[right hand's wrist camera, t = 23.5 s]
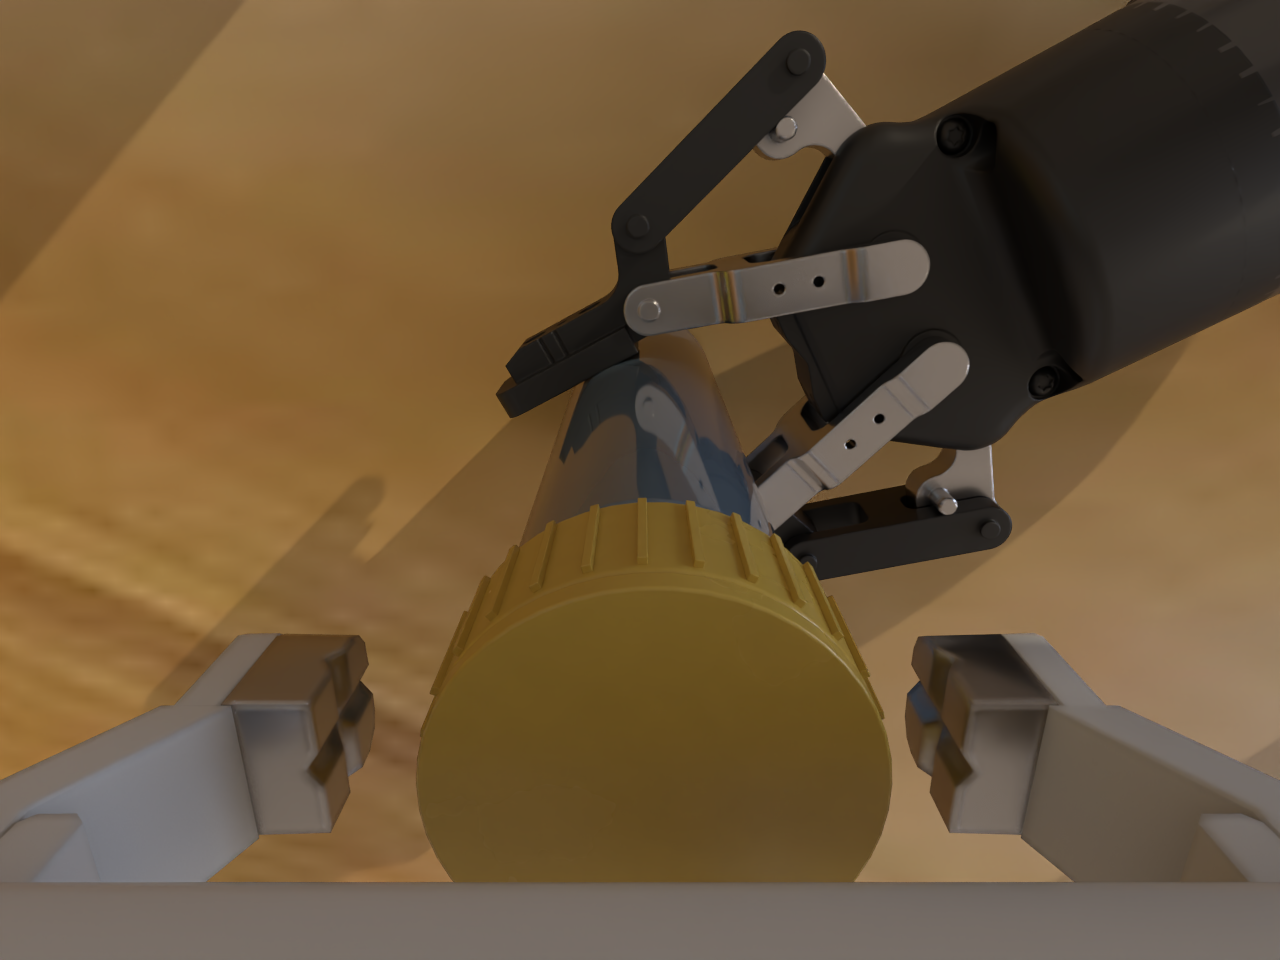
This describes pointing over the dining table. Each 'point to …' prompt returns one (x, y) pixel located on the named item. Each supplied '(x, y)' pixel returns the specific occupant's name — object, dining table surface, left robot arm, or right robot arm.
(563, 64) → the dining table surface
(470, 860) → the lid
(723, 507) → the jar
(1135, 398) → the dining table surface
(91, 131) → the dining table surface
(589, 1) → the dining table surface
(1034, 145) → the left robot arm
